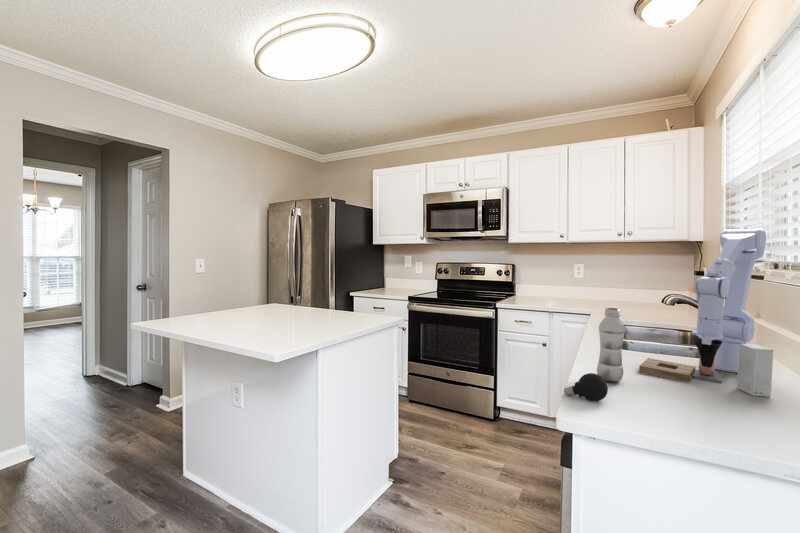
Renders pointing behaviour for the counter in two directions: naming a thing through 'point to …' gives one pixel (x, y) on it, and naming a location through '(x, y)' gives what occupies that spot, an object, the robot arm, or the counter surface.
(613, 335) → the plastic bottle
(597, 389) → the light bulb
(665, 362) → the walnut holder
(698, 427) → the counter surface
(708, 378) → the rubber pad
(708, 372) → the peg
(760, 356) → the skincare box
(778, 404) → the counter surface
